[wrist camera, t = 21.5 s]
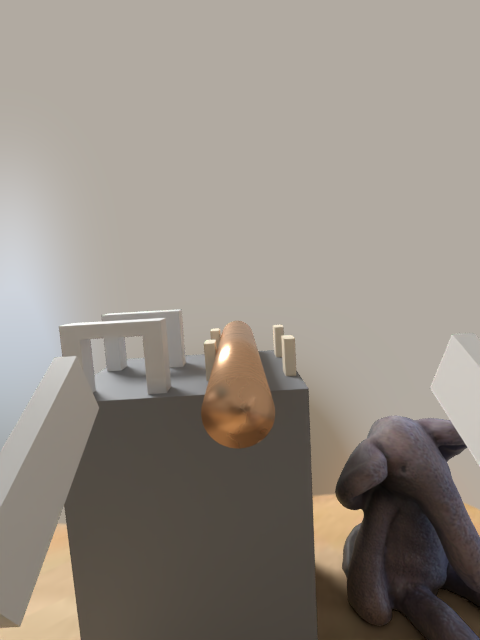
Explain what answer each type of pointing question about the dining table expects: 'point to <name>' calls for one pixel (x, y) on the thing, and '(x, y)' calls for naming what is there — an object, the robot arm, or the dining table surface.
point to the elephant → (409, 527)
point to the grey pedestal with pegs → (187, 496)
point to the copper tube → (237, 391)
